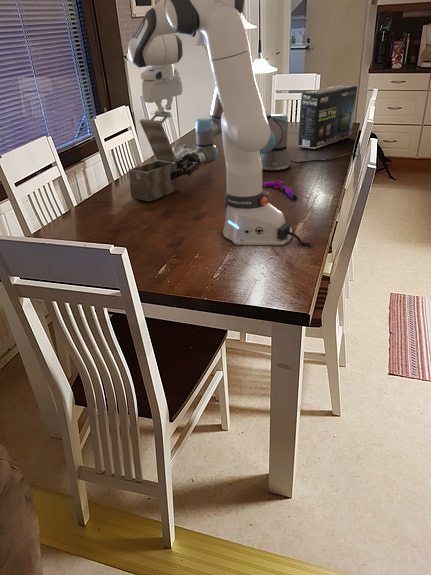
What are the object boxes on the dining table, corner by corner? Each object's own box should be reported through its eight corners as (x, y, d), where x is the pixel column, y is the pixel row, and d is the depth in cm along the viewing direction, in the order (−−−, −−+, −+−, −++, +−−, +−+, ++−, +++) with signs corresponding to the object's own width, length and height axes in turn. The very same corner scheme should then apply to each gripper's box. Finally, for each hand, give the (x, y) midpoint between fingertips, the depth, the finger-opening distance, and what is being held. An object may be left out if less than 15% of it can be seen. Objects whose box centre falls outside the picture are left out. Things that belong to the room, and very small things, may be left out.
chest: (149, 201, 176) (147, 172, 170) (131, 197, 180) (128, 169, 175) (177, 190, 188) (176, 162, 183) (159, 186, 193) (157, 160, 188)
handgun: (263, 185, 189) (263, 181, 188) (281, 183, 190) (281, 179, 189) (278, 202, 172) (278, 197, 171) (298, 200, 173) (298, 195, 172)
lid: (158, 122, 169) (172, 108, 173) (139, 121, 174) (152, 106, 178) (175, 162, 182) (187, 147, 186) (156, 159, 187) (168, 145, 191)
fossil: (184, 156, 217) (163, 136, 220) (174, 174, 223) (154, 154, 227) (205, 153, 231) (186, 134, 234) (195, 171, 237) (176, 152, 240)
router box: (314, 151, 231) (318, 94, 217) (296, 148, 237) (299, 92, 224) (352, 138, 251) (358, 85, 238) (335, 135, 258) (340, 83, 245)
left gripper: (172, 67, 178) (174, 105, 186) (137, 75, 164) (141, 115, 171) (185, 68, 175) (187, 106, 183) (151, 76, 161) (154, 117, 168)
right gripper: (214, 172, 197) (184, 187, 181) (173, 165, 207) (141, 179, 192) (214, 154, 193) (183, 168, 177) (172, 149, 204) (139, 161, 188)
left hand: (164, 111), depth 177 cm, fingers open, 3 cm apart
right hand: (161, 174), depth 184 cm, fingers closed on chest, 10 cm apart
